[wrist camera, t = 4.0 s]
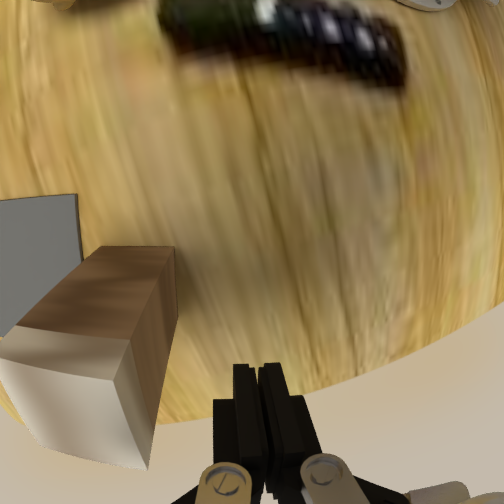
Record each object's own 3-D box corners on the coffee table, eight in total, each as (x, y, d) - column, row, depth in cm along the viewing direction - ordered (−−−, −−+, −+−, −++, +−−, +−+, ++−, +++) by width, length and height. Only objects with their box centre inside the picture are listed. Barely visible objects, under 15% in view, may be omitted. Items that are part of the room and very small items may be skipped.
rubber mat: (77, 193, 16) (74, 194, 16) (101, 351, 20) (100, 354, 20) (-43, 206, 15) (-46, 207, 14) (-15, 330, 18) (-17, 332, 18)
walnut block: (174, 246, 18) (113, 380, 7) (178, 316, 20) (147, 470, 8) (101, 246, 18) (-12, 354, 6) (110, 313, 19) (40, 445, 8)
